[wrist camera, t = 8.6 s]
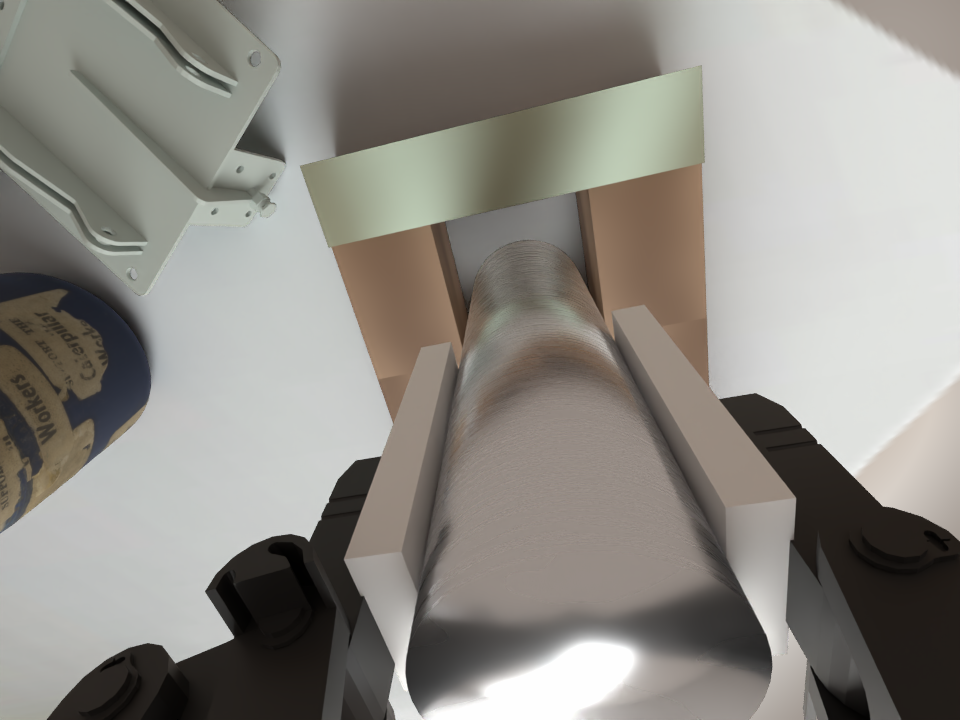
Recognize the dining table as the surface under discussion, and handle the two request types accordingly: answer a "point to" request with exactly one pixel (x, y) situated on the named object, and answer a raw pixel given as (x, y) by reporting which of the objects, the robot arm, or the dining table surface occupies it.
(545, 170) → the pin plate
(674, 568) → the steel pin
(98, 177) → the metal bracket
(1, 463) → the canister
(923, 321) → the dining table surface
